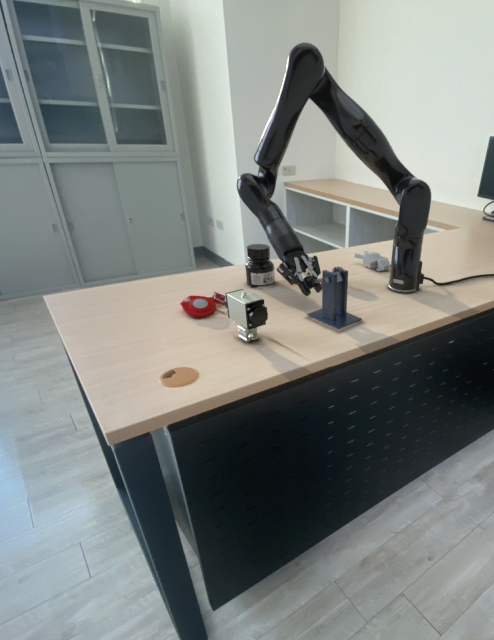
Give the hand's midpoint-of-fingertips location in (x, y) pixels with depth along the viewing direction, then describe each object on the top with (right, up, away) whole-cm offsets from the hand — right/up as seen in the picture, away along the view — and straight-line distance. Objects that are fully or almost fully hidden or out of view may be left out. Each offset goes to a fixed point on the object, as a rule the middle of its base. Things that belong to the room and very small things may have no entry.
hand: (314, 292), depth 112 cm
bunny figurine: (+18, +18, +41) cm, 49 cm away
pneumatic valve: (-14, -14, -13) cm, 24 cm away
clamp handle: (+3, +1, -3) cm, 4 cm away
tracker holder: (-30, -5, 0) cm, 30 cm away
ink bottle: (-19, +7, +20) cm, 28 cm away
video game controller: (+4, +7, +23) cm, 24 cm away
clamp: (+6, -8, -1) cm, 10 cm away
